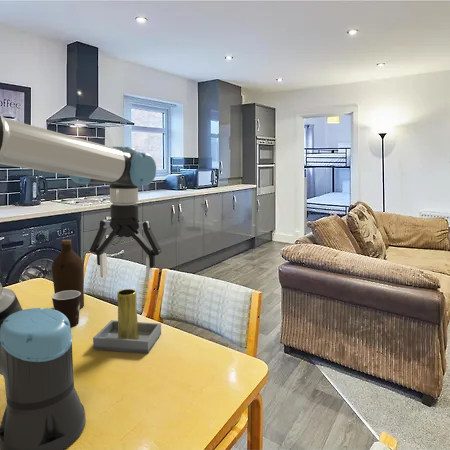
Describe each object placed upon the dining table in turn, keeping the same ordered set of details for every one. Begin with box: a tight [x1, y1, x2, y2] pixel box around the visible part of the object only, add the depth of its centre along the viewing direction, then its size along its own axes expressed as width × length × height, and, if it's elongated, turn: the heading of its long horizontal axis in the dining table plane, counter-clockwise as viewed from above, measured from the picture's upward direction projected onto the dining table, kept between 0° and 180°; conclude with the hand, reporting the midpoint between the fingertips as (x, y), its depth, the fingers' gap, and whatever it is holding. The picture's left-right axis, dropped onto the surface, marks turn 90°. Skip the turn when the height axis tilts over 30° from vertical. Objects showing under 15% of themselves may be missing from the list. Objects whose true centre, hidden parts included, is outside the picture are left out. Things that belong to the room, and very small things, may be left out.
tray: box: [92, 319, 162, 355], centre depth 109 cm, size 12×16×4 cm
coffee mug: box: [51, 290, 81, 328], centre depth 121 cm, size 12×9×10 cm
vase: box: [117, 288, 139, 340], centre depth 108 cm, size 6×6×14 cm
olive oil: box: [51, 238, 85, 310], centre depth 133 cm, size 11×11×25 cm
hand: (126, 277), depth 106 cm, fingers open, 13 cm apart
